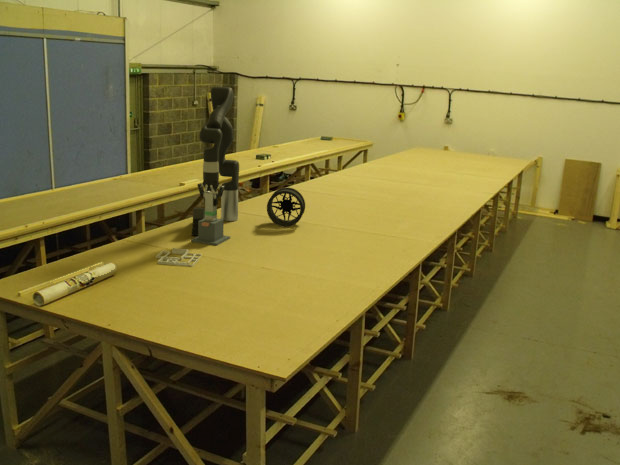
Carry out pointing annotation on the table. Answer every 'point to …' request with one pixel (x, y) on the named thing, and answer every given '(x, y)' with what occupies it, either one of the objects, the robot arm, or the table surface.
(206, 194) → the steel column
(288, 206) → the wheel rim
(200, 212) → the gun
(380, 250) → the table surface
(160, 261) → the floor plan model
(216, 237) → the gray sleeve
